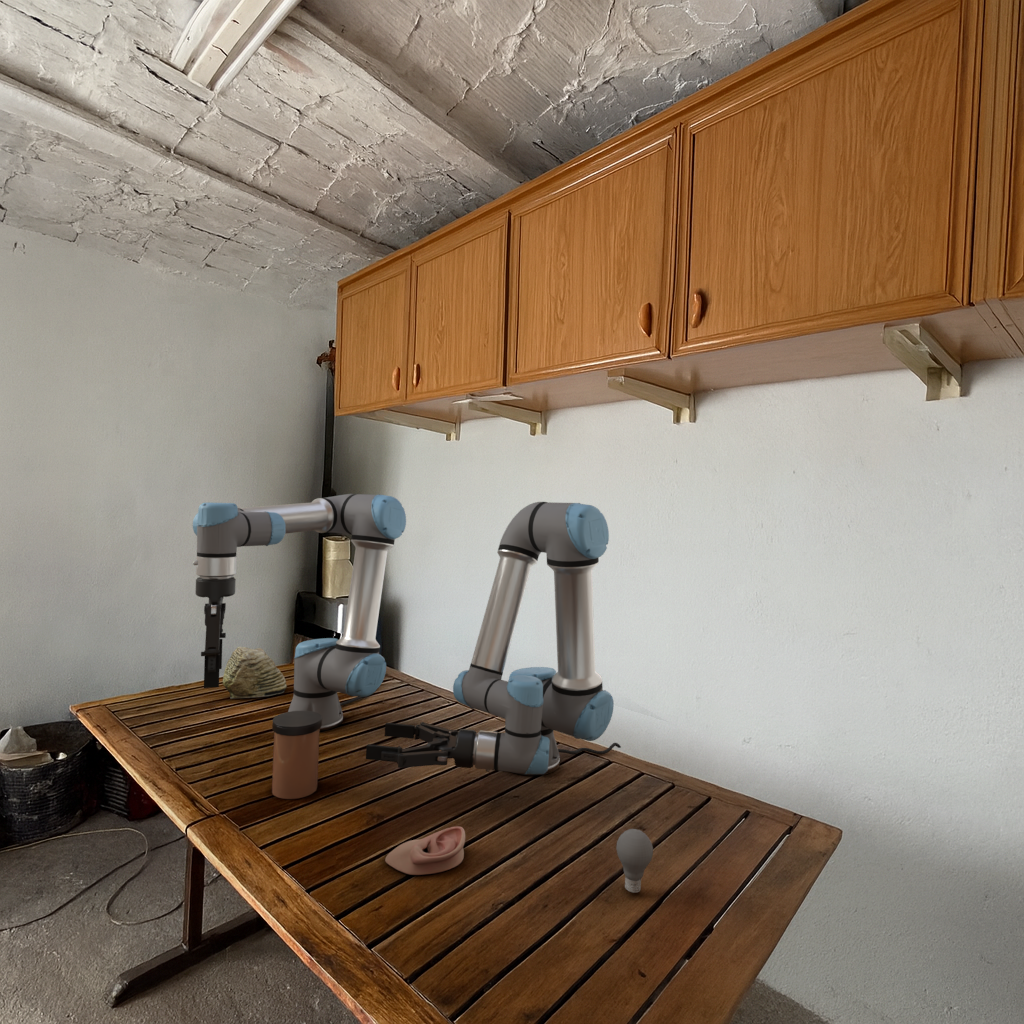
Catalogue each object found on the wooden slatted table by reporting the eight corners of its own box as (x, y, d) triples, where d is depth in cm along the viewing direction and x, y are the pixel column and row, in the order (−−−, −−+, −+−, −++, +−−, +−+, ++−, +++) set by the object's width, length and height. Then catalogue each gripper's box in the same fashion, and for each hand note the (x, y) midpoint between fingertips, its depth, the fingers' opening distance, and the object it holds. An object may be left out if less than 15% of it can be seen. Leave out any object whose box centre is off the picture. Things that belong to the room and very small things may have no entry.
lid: (285, 739, 129) (285, 730, 129) (264, 725, 137) (264, 716, 137) (330, 728, 137) (330, 719, 136) (308, 715, 144) (308, 707, 144)
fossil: (218, 695, 195) (220, 647, 195) (278, 685, 208) (279, 640, 207) (228, 703, 189) (230, 653, 188) (289, 692, 201) (290, 645, 201)
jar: (283, 803, 130) (286, 731, 130) (264, 787, 137) (267, 719, 137) (325, 790, 137) (327, 721, 136) (304, 775, 143) (307, 710, 143)
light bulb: (610, 879, 108) (613, 822, 108) (644, 879, 109) (647, 822, 109) (619, 902, 102) (622, 840, 102) (655, 901, 103) (658, 840, 103)
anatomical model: (378, 846, 108) (403, 814, 120) (377, 869, 108) (402, 835, 120) (453, 858, 106) (471, 824, 117) (452, 882, 106) (470, 846, 117)
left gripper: (200, 569, 142) (197, 663, 142) (190, 585, 119) (187, 697, 119) (236, 569, 145) (234, 661, 145) (234, 585, 122) (231, 694, 122)
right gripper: (465, 792, 120) (356, 781, 122) (481, 745, 145) (391, 737, 147) (467, 753, 120) (358, 742, 122) (484, 713, 145) (393, 705, 147)
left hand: (213, 677), depth 132 cm, fingers open, 13 cm apart
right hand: (376, 739), depth 134 cm, fingers open, 13 cm apart
